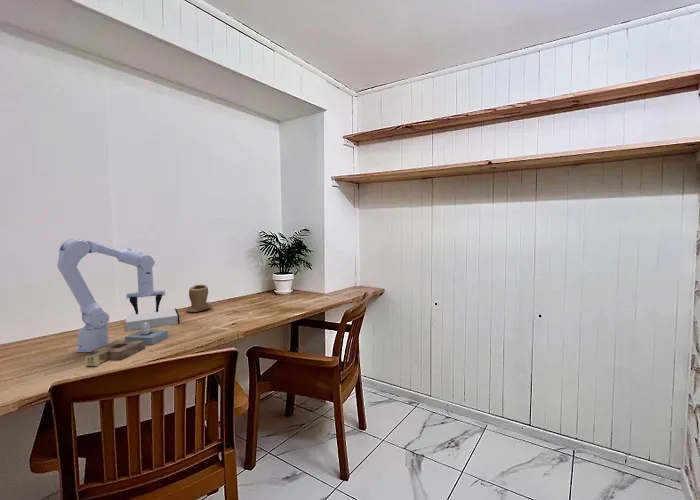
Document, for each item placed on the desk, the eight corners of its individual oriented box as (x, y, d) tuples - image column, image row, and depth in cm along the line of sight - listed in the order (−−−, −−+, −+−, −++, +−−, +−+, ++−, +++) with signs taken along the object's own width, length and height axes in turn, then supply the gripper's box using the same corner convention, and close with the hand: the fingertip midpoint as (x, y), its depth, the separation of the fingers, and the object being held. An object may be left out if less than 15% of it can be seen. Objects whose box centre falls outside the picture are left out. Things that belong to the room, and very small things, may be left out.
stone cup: (195, 314, 189) (194, 287, 188) (182, 312, 194) (181, 286, 194) (218, 308, 202) (217, 283, 201) (205, 306, 208) (204, 282, 207)
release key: (86, 365, 118) (85, 356, 118) (100, 359, 124) (100, 350, 124) (96, 366, 118) (95, 357, 117) (110, 359, 123) (110, 350, 123)
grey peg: (140, 342, 143) (139, 323, 142) (144, 340, 146) (143, 321, 145) (148, 342, 143) (147, 323, 142) (151, 339, 146) (150, 321, 145)
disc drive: (179, 324, 171) (179, 314, 170) (126, 332, 159) (125, 321, 159) (176, 317, 186) (176, 308, 185) (127, 323, 174) (126, 314, 174)
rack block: (125, 344, 141) (124, 337, 140) (142, 336, 150) (142, 329, 150) (152, 344, 139) (151, 337, 139) (167, 337, 149) (167, 330, 149)
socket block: (91, 359, 125) (90, 351, 125) (117, 347, 137) (117, 340, 136) (121, 360, 123) (120, 351, 123) (145, 348, 135) (144, 340, 135)
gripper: (124, 285, 143) (126, 316, 144) (163, 282, 149) (165, 312, 150) (127, 282, 149) (128, 313, 150) (164, 280, 156) (166, 309, 156)
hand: (147, 312), depth 151 cm, fingers open, 7 cm apart
